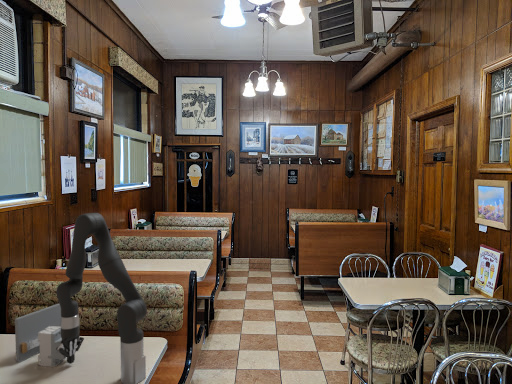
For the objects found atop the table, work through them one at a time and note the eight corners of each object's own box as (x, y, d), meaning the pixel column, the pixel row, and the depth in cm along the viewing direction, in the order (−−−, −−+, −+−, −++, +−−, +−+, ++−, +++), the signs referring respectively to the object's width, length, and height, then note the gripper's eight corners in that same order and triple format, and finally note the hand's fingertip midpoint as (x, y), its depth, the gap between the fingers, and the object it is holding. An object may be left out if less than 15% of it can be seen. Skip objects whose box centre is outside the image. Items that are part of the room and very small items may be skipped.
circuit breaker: (67, 367, 164) (66, 334, 164) (38, 365, 166) (37, 332, 166) (77, 359, 172) (77, 327, 171) (49, 357, 174) (49, 326, 173)
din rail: (62, 335, 187) (62, 328, 187) (23, 353, 169) (23, 344, 169) (60, 335, 188) (59, 327, 188) (20, 352, 170) (20, 343, 169)
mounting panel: (62, 342, 189) (61, 304, 188) (18, 362, 169) (17, 319, 168) (59, 341, 190) (58, 303, 189) (16, 361, 170) (14, 318, 169)
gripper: (62, 332, 157) (63, 371, 158) (88, 320, 169) (89, 357, 170) (50, 329, 161) (51, 367, 162) (76, 318, 173) (77, 354, 174)
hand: (70, 362), depth 166 cm, fingers closed
